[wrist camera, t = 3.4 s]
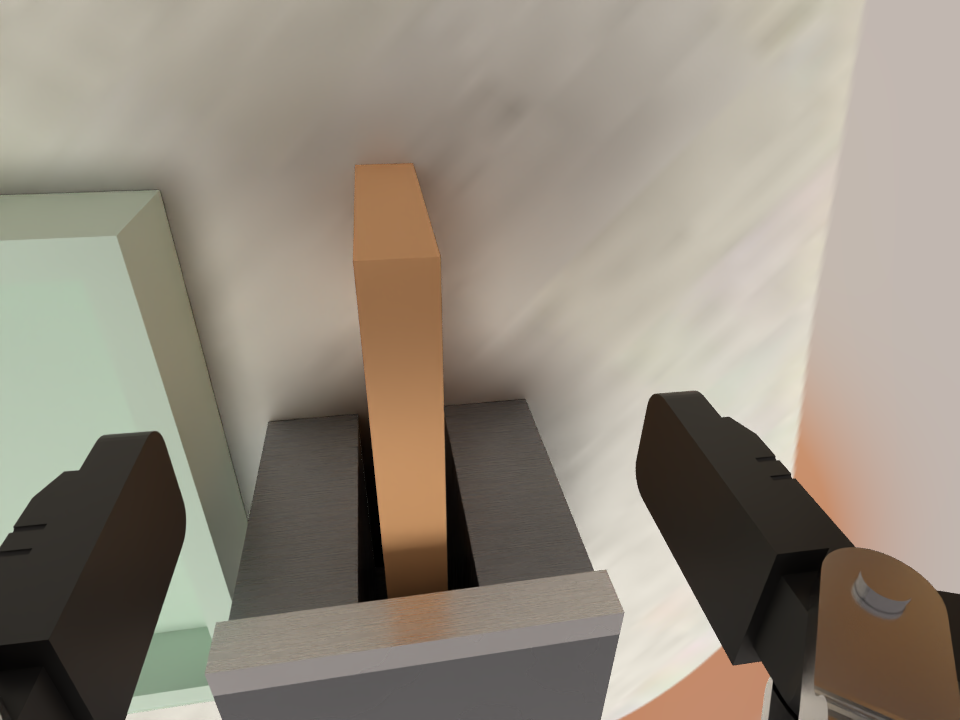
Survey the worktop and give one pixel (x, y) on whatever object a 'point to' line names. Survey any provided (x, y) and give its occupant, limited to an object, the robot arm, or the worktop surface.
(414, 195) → the brown rectangular block
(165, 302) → the tray
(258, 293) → the worktop surface
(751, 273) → the worktop surface
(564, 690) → the box
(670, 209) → the worktop surface
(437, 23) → the worktop surface
